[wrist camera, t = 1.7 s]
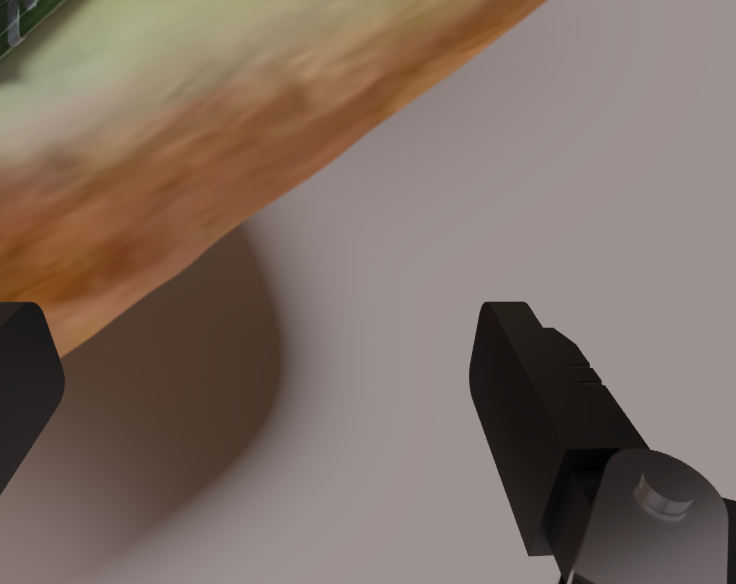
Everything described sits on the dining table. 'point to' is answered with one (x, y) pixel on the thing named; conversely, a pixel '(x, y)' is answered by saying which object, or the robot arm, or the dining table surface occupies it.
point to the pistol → (22, 20)
